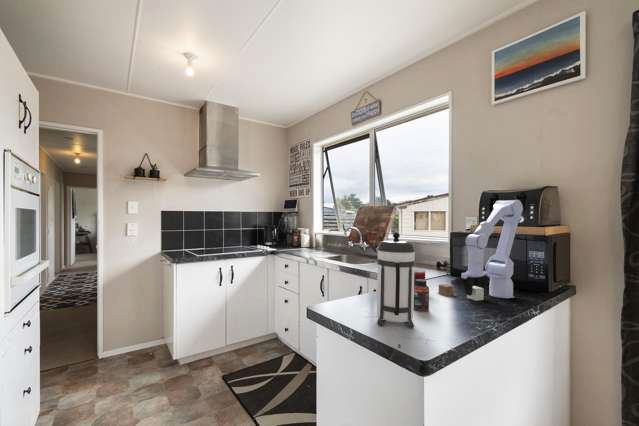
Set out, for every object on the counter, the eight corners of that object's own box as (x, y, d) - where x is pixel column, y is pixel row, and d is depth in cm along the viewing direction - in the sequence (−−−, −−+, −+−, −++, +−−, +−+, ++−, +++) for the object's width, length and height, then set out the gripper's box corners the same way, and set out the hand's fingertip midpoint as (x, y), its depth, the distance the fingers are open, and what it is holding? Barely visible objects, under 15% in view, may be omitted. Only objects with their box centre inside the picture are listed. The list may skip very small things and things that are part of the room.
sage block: (474, 297, 131) (474, 285, 132) (483, 300, 127) (483, 288, 127) (466, 298, 130) (467, 286, 130) (476, 301, 126) (476, 289, 126)
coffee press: (360, 318, 104) (362, 231, 104) (395, 311, 112) (397, 230, 112) (396, 336, 89) (398, 235, 89) (433, 327, 97) (435, 234, 97)
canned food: (422, 292, 141) (423, 268, 141) (426, 297, 133) (427, 272, 133) (405, 291, 141) (406, 268, 141) (409, 296, 133) (409, 271, 133)
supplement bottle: (429, 308, 116) (430, 279, 116) (428, 313, 111) (428, 282, 111) (413, 306, 119) (414, 277, 119) (411, 310, 113) (411, 280, 113)
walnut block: (445, 292, 138) (446, 283, 138) (453, 294, 134) (454, 285, 134) (438, 293, 136) (438, 284, 136) (446, 295, 132) (446, 286, 132)
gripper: (479, 260, 135) (478, 290, 135) (455, 261, 129) (455, 293, 129) (493, 262, 129) (493, 294, 129) (469, 264, 123) (469, 297, 123)
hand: (475, 294), depth 128 cm, fingers open, 7 cm apart
